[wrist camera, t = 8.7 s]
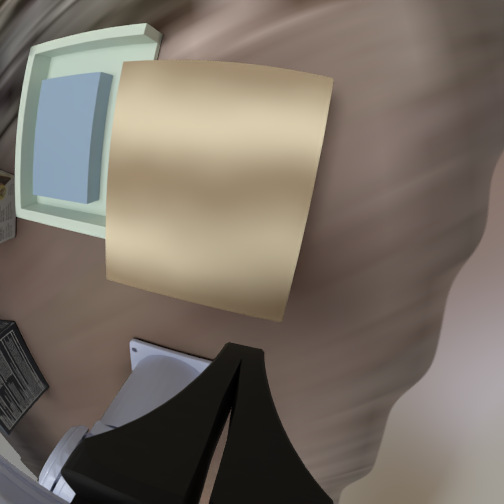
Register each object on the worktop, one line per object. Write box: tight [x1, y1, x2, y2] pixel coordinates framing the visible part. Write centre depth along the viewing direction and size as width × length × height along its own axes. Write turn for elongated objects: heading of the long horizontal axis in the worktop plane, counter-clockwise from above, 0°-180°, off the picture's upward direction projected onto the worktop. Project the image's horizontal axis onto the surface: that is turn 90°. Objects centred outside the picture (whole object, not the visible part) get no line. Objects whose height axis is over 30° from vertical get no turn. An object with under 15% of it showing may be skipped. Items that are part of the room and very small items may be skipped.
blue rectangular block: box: [33, 72, 113, 204], centre depth 17 cm, size 9×6×2 cm, turn 170°
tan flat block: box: [106, 60, 334, 322], centre depth 17 cm, size 13×11×4 cm
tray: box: [15, 23, 163, 239], centre depth 17 cm, size 14×11×2 cm
